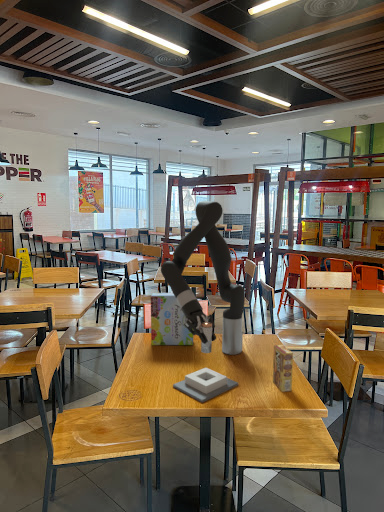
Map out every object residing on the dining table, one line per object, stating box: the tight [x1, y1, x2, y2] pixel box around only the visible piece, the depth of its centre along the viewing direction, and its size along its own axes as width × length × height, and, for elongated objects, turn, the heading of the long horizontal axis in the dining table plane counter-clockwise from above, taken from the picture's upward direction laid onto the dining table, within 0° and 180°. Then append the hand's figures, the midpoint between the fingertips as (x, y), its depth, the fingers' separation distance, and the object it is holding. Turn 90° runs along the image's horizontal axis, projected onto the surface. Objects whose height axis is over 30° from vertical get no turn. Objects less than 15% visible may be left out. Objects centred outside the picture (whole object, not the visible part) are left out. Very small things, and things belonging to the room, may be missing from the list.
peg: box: [200, 322, 213, 354], centre depth 142 cm, size 4×4×11 cm
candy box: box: [272, 344, 294, 393], centre depth 144 cm, size 9×4×15 cm, turn 13°
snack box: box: [150, 292, 195, 346], centre depth 190 cm, size 22×9×26 cm, turn 89°
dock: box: [172, 367, 239, 404], centre depth 144 cm, size 20×16×4 cm
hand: (210, 341), depth 141 cm, fingers closed on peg, 4 cm apart
